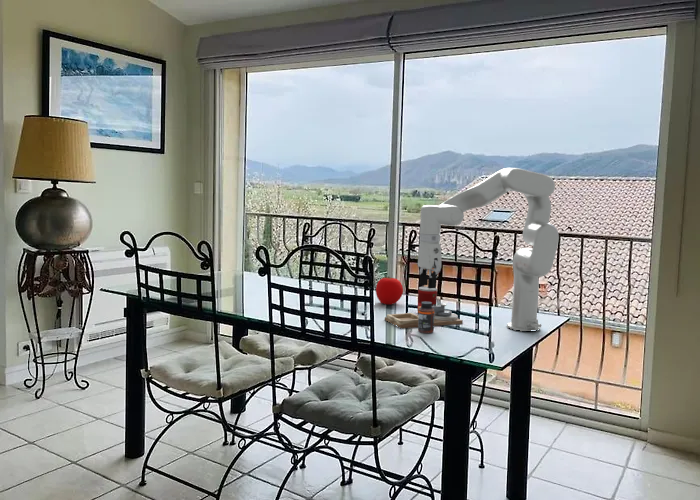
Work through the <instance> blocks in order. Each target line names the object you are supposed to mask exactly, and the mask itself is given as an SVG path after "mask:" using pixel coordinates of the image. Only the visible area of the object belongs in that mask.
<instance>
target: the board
mask: <svg viewBox="0 0 700 500" xmlns="http://www.w3.org/2000/svg"><path fill="white" fill-rule="evenodd" d="M418 315H419V314H415V313H413V312H407V313H406V312H402V313H393V314H392V313H391V314H386V316H384V321H385V320H386V322H387V321H388V322H387V323H389V322H390V323H389V324H391V323H392V324H391V325H393V324H394V325H393V326H395V325H397V326H398V327H397V326H396V327H397V328H399V327H400V328H399V329H401V328H402V329H411V328H413V329H414V328H418ZM460 324H464V322H463V320H462V319H460V318H459V317H458V314H456V313H452V315H451V316H437V315H435V314H434V327H436V326H437V327H438V326H446V325H447V326H449V325H460Z"/></svg>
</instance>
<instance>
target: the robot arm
mask: <svg viewBox="0 0 700 500" xmlns="http://www.w3.org/2000/svg"><path fill="white" fill-rule="evenodd" d="M555 188H556V183H555V181H554V179H553V178H552V177H551V176H550V175H547V174H543V173H540V172H539V173H538V172H535V171H530V170H527V169H522V168H518V167H506V168H505V167H504V168H502V169H500V170H498V171H496V172H495V173H493V174H491V175H490V176H489V177H487V178H486V179H484V180H483V181H480V182H479V183H477V184H476V185H474V186H472V187H470V188H468V189H466V190H464V191H461V192H459V193H457V194H455V195H453V196H452V197H450V198H448V199H447V200H445V201H443V202H442V203H441V204H439V205H433V204H431V205H430V204H425V205H422V206H421V208H420V226H419V245H418V253H417V254H418V256H417V267H418V270H419V272H418V273H419V286H427V287H428V288H437V280H438V279H437V278H438V275H439V273H441V270H442V247H441V227H442V225H443V226H449V227H450V226H451V227H454V226H455V227H456V226H458V225H460V224H461V223H463V220H464V218H465V212H466V211H467V212H468V211H469V210H473V209H476V208H482V207H485V206H488V205H490V204H491V203H493V202H495V200H497V199H499V198H500V197H503V196H504V195H505V194H507V193H509V192H510V191H511V192H517V193H521V194H523V195H524V197H525V198H526V201H527V205H528V209H527V215H526V218H525V223H524V225H523V226H524V227H523V231H522V239H523V241H524V242H525V243H526V244H527V245H530V246H532V248H529V247H525V248H519V249H518V250H517V251H516V252H515V253H514V254H513V258H512V269H513V288H512V302H511V303H512V305H511V307H512V308H511V321H510V322H507V324H506V327H507V328H508V329H509V328H510V330H512V329H514V330H513V331H516V330H520V331H519V332H522V331H531V330H538V329H540V330H541V328H542V323H539V318H538V305H539V304H538V303H539V290H540V289H539V288H540V279H539V278H540V277H544V276H547V275H548V274H549V273H550V272H551V269H552V267H553V265H554V261H555V257H556V253H557V249H558V245H559V241H560V240H559V239H560V235H559V231H558V228H556V226H555V225H554V224H551V223H550V218H551V212H552V202H551V199H550V196H552V195H553V193H554V192H555Z"/></svg>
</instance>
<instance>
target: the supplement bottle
mask: <svg viewBox="0 0 700 500" xmlns="http://www.w3.org/2000/svg"><path fill="white" fill-rule="evenodd" d="M417 315H418V327H417V330H418V332H419V333H421V334H432V333H433V332H434V329H435V326H434V309H433V308H432V302H427V301H425V302H422V303H421V307H420V308H419V313H418V314H417Z"/></svg>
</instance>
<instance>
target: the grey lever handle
mask: <svg viewBox="0 0 700 500" xmlns="http://www.w3.org/2000/svg"><path fill="white" fill-rule="evenodd" d="M446 306H447V303H440V304H438V305H437V304H436V306H432V308H433V309H434V314H435V315H437V316H451V315H452V310H447V309H445V308H446ZM419 308H420V307H418V306H417V309H418V311H417V314H419Z"/></svg>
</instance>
